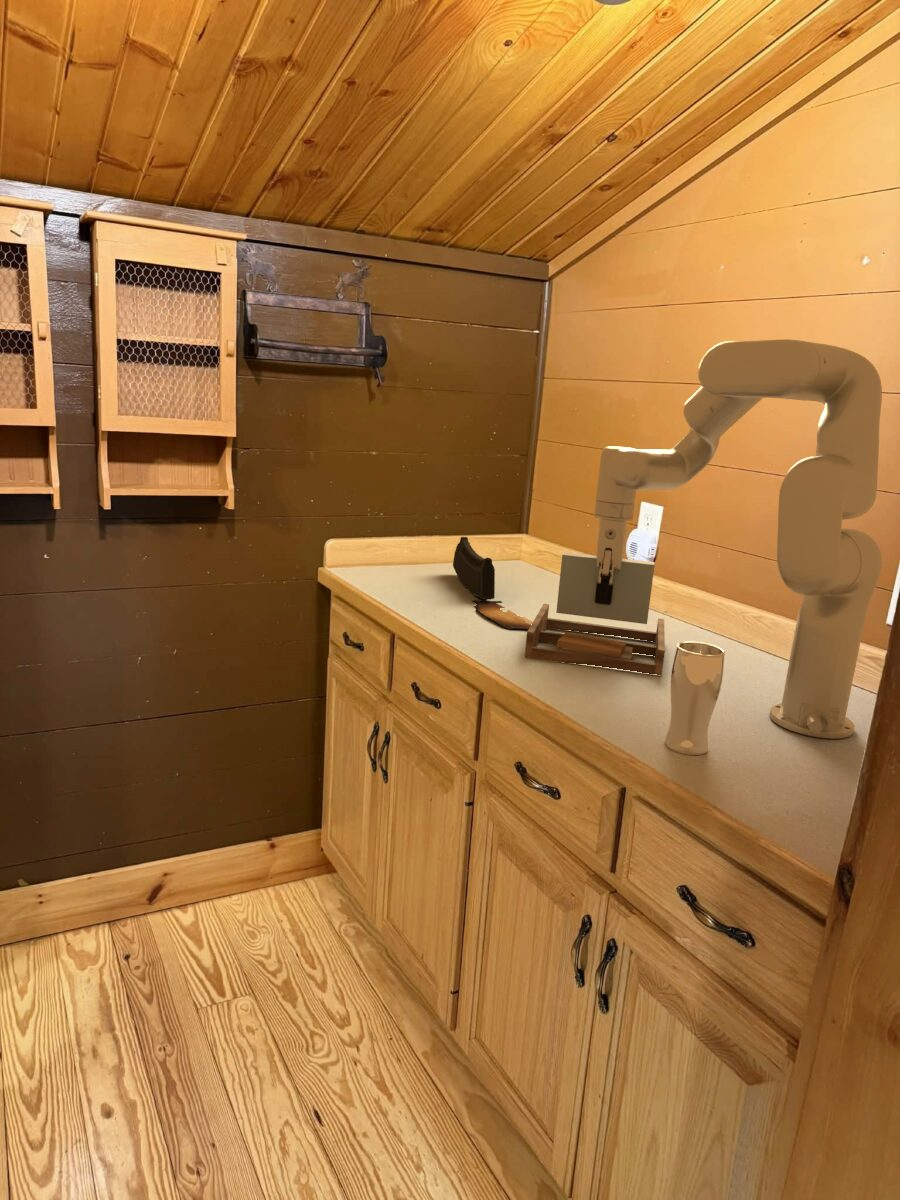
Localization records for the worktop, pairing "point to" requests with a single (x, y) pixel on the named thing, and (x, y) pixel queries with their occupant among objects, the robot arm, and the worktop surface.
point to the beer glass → (694, 695)
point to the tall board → (626, 596)
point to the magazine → (474, 570)
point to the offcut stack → (594, 646)
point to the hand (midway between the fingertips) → (603, 600)
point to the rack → (543, 622)
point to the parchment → (501, 615)
